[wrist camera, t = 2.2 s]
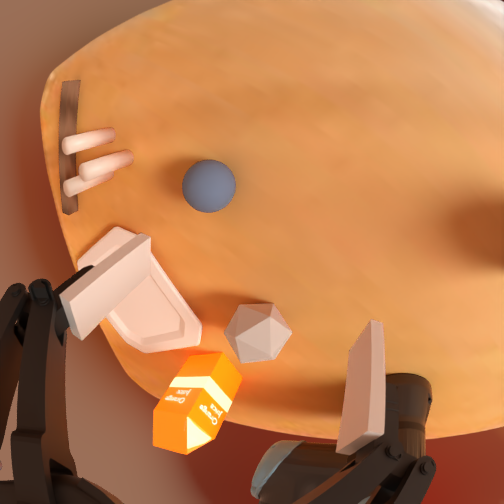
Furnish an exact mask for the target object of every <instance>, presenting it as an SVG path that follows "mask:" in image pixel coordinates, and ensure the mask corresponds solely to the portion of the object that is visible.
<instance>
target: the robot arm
mask: <svg viewBox="0 0 504 504" xmlns="http://www.w3.org/2000/svg"><path fill="white" fill-rule="evenodd" d="M150 253H151V237H150V236H147V235H145V234H142V233H140V234H138V235H137V236H135V237H134V238H133V239H131V240H130V241H128V242H127V243H126V244H124V245H123V246H121V247H120V248H119V249H117V250H116V251H115V252H113V253H112V254H111V255H109V256H108V257H107V258H105V259H104V260H103V261H101V262H100V263H99V264H97V265H96V266H93V265H89V266H86V267H84V268H82V269H81V270H79V271H78V272H77V273H76V274H74V275H73V276H72V277H71V278H69V279H68V280H67V281H65V282H64V283H63V284H61V285H60V286H59V287H58V288H56V289H55V290H54V291H53V290H52V287H51V284H50V282H49V281H48V280H46V279H37V280H35V281H33V282H32V283H31V284H30V285H29V287H28V289H29V292H30V293H28V292H27V290H26V288H25V286H24V285H23V284H21V283H16V284H13V285H11V286H10V287H9V288H8V289H7V291H6V292H5V294H4V296H3V297H2V299H1V301H0V449H1V446H2V443H3V439H4V435H5V430H6V425H7V420H8V416H9V411H10V407H11V404H12V400H13V397H14V393H15V390H16V387H17V383H18V380H19V385H18V401H17V429H16V430H15V431H13V432H12V434H11V457H12V468H13V477H14V480H8V481H0V504H124V503H122V502H121V501H120V500H119V499H118V498H117V497H115V496H114V495H112V494H111V493H109V492H108V491H106V490H105V489H103V488H102V487H100V486H98V485H96V484H94V483H92V482H90V481H88V480H86V479H84V478H79V477H78V476H77V471H76V466H75V462H74V459H73V457H72V455H71V453H70V449H69V441H68V432H67V420H66V403H65V358H66V339H67V332H66V329H67V328H68V327H69V326H70V329H71V331H72V334H74V335H75V336H76V337H77V338H79V339H80V340H83V339H84V338H85V337H86V336H87V335H88V334H89V333H90V332H91V331H92V330H93V329H94V328H95V327H96V326H97V325H98V324H99V323H100V322H101V321H102V320H103V319H104V318H105V317H106V316H107V315H108V314H109V313H110V312H111V311H112V310H113V309H114V308H115V307H116V306H117V305H118V304H119V303H120V302H121V301H122V300H123V299H124V298H125V297H126V296H127V295H128V294H129V293H131V292H132V291H133V290H134V289H135V288H136V287H137V286H138V285H139V284H140V283H141V282H142V281H143V280H144V279H145V278H146V277H147V276H149V275H150V274H151V272H150ZM16 321H17V323H16ZM15 323H16V324H15ZM431 402H432V390H431V385H430V383H429V382H428V381H427V380H426V379H425V378H423V377H421V376H418V375H413V374H394V375H389V376H385V347H384V330H383V323H381V322H378V321H375V320H372V319H371V320H370V321H369V323H368V324H367V326H366V327H365V329H364V330H363V332H362V333H361V335H360V336H359V338H358V339H357V340H356V342H355V343H354V345H353V346H352V348H351V349H350V350H349V359H348V370H347V379H346V388H345V396H344V404H343V411H342V418H341V424H340V430H339V436H338V442H337V444H326V443H311V442H306V441H303V440H302V441H285V440H284V441H279V442H277V443H275V444H273V445H272V446H271V447H270V449H269V450H268V451H267V452H266V453H265V455H264V456H263V458H262V459H261V461H260V463H259V465H258V467H257V469H256V472H255V474H254V477H253V480H252V487H251V494H252V495H253V496H254V497H255V498H257V499H260V501H259V504H421V502H422V500H423V498H424V496H425V494H426V492H427V490H428V488H429V486H430V484H431V481H432V479H433V477H434V474H435V471H436V464H435V462H434V460H433V459H432V458H431V457H429V456H426V452H425V451H426V448H425V424H426V421H427V417H428V414H429V410H430V406H431ZM346 462H347V463H346ZM1 469H2V463H1V461H0V470H1Z"/></svg>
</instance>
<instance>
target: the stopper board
mask: <svg viewBox="0 0 504 504" xmlns="http://www.w3.org/2000/svg"><path fill="white" fill-rule="evenodd" d="M79 87H80V80H73V81H64V82H62V91H61V102H60V117H59V174H60V190H61V201H62V211H63V213H65V214H67V215H70V214H72V213H74V212H76V211H78V203H77V194H76V195H73V196H71V197H68V196H66V194H65V193H64V190H63V183H64V181H66V180H68V179H71V178H73V177H76V152H75V153H72V154H69V155H66V154H64V152H63V150H62V141H63V139H64V138H65V137H68V136H72V135H76V122H77V107H78V96H79Z"/></svg>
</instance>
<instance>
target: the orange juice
mask: <svg viewBox="0 0 504 504" xmlns="http://www.w3.org/2000/svg"><path fill="white" fill-rule="evenodd" d="M242 379H243V378H242V376H241V375H240V374H239V372H238V371H237V370H236V369H235V367H234V366H233V365H232V363H231V362H230V361H229V360H228V358H227V357H226V356H225V354H224V353H223V352H221V353H212V354H203V355H192V356H189V357H188V359H187V360H186V362H185V364H184V365H183V367H182V368H181V370H180V371H179V373H178V374H177V376H176V377H175V378H174V380H173V381H172V383H171V384H170V386H169V388H168V389H167V391H166V393H165V394H164V396H163V397H162V399H161V400H160V402H159V403H158V405H157V406H156V408H155V409H154V421H153V445H154V446H157V447H160V448H164V449H167V450H171V451H174V452H179V453H182V454H186V455H187V454H188V453H190V452H191V451H193V450H195V449H197V448H199V447H200V446H202V445H204V444H206V443H207V442H209V441H211V440H213V439H215V437H216V435H217V432H218V430H219V428H220V426H221V424H222V422H223V420H224V418H225V416H226V414H227V412H228V410H229V408H230V406H231V404H232V401H233V399H234V396H235V394H236V392H237V390H238V388H239V385H240V383H241V381H242Z"/></svg>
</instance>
